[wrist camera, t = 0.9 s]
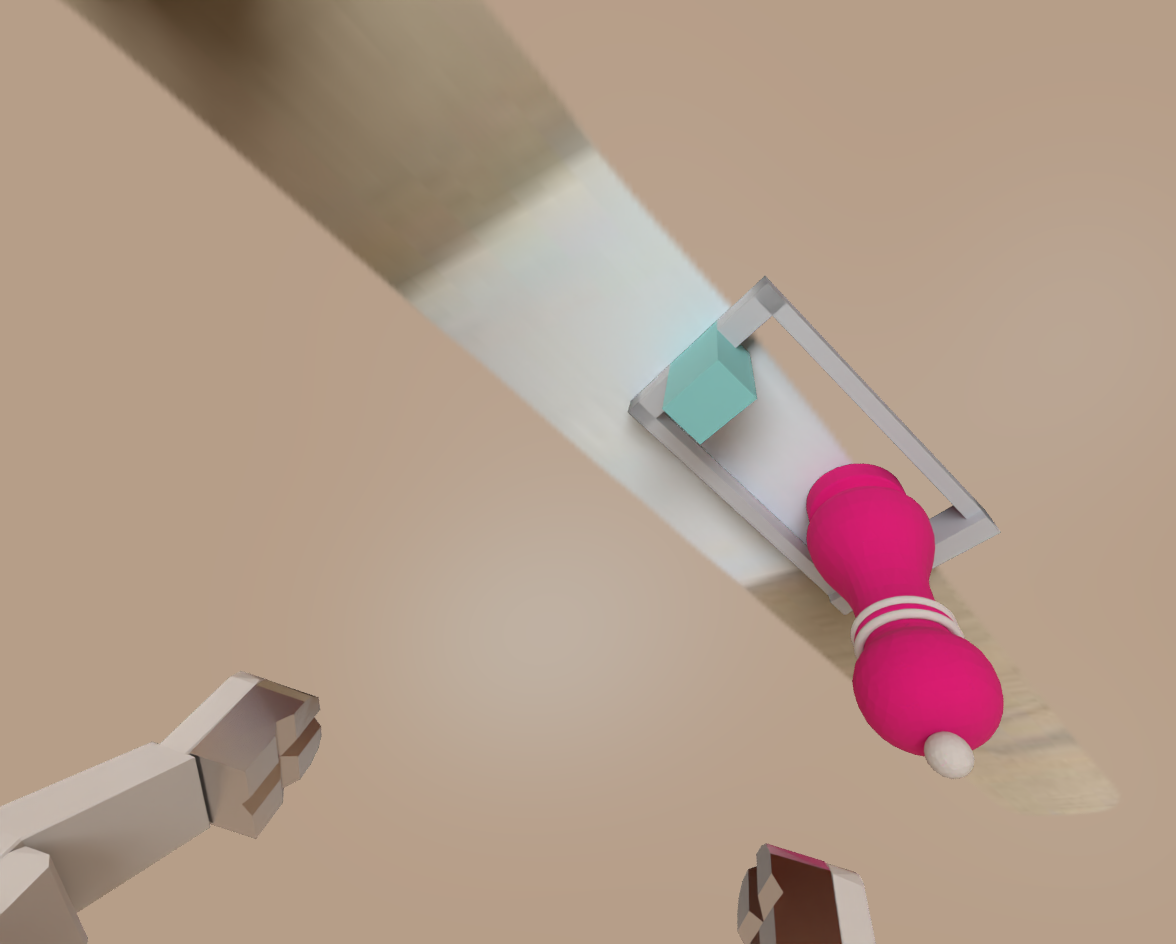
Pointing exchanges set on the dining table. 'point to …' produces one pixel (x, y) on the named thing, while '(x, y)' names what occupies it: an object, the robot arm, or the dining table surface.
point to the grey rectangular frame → (726, 387)
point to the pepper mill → (901, 620)
